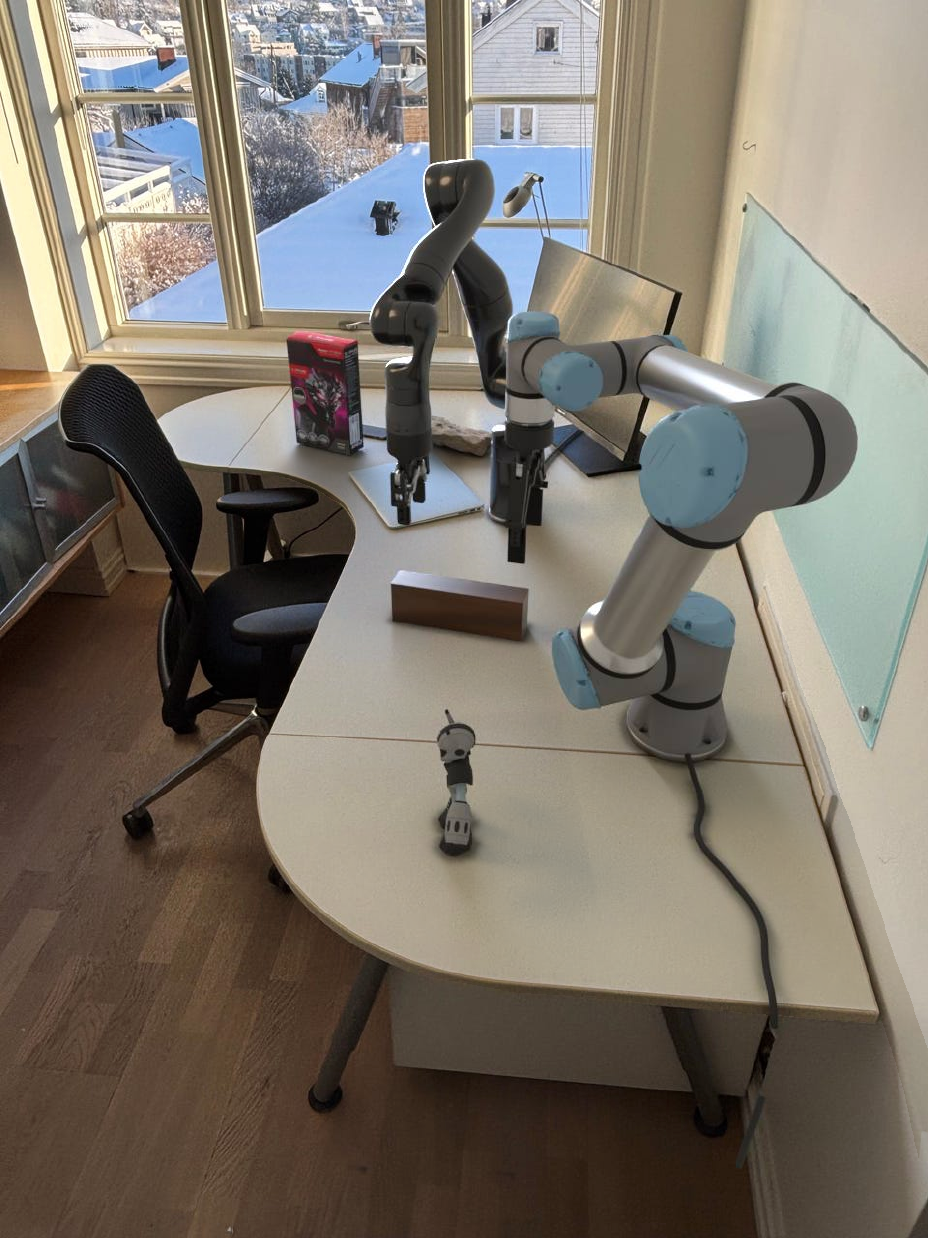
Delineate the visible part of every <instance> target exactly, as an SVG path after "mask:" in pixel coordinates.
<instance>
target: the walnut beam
mask: <svg viewBox="0 0 928 1238" xmlns="http://www.w3.org/2000/svg"><path fill="white" fill-rule="evenodd" d="M529 590H530V589H529V588H527V587H522V586H521V587H520V586H514V585H513V586H512V585H506V584H500V583H492V582H486V581H485V582H484V581H480V580H472V579H465V578H458V577H452V576H445V575H438V574H432V573H425V572H417V571H410V570H405V569H404V570H403V569H402V570H401V569H399V570H398V572H397V573H396V575H395V576H394V578H393V579H392V581H391V582H390V596H391V598H390V599H391V618H392V619H391V620H392V621H393V622H398V623H404V624H411V625H416V626H417V625H418V626H423V627H429V628H435V629H442V630H449V631H455V632H461V633H467V634H473V635H480V636H487V637H492V638H493V637H494V638H500V639H505V640H511V641H518V642H522V640H523V637H524V634H525V632H526V629H527V626H528V613H529V612H528V611H529V609H528V608H529V595H530V594H529V593H530V591H529Z"/></svg>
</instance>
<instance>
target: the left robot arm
mask: <svg viewBox="0 0 928 1238" xmlns="http://www.w3.org/2000/svg"><path fill="white" fill-rule="evenodd" d="M495 188H496V186H495V178H494V175H493V171H492V169H491V167H490V165H489V164H488V163H487V162H486V161H485V160H483V159H478V158H467V159H457V160H448V161H441V162H436V163H432V164H430V165H428V167H427V168H426V169H425V172H424V174H423V193H424V199H425V203H426V207H427V210H428V212H429V215H430V218H431V220H432V223H433V225H434V228H433V229H431V230H430V231H429V232H428V233H427V234H425V235H424V236H423V237H422V238H421V239H420V240H419V241H418V243H417V244H416V245H415V246H414V247H413V249H412V250H411V252H410V254H409V256H408V258H407V260H406V263H405V265H404V268H403V269H402V272H401V274H400V275H399V276H398V278H396V279H395V280H394V281H393V283H392V284H390V286H388V288H386V289H385V291H384V292H383V293H382V294H381V295H380V296H379V298H378V299H377V300H376V302H375V303H374V305H373V307H372V309H371V312H370V316H369V330H370V333H371V335H372V337H373V338H374V340H375V341H376V342H378V343H379V344H381V345H384V346H390V347H400V348H407V349H409V348H410V349H412V355H411V356H407V357H399V358H395V359H392V360H390V361H389V362H388V363H387V364H386V365H385V368H384V385H385V387H384V389H385V409H384V411H385V412H384V417H385V420H384V421H385V435H386V436H385V438H386V451H387V453H388V454H389V455H390V456H392V457H394V458H395V459H396V460H397V462H396V463H395V470H394V471H391V472H390V474H389V480H390V482H389V483H390V485H389V486H390V507H395V508H396V519H397V520H396V521H397V524H398V525H401V526H407V527H408V526H410V525H411V523H412V512H411V511H412V507H411V503H412V501H413V503H417V504H424V503H425V502H426V500H427V497H426V496H427V495H426V483H427V480H428V476H427V475H430V473H431V468H430V467H431V466H430V454H431V452H432V450H433V440H432V417H431V416H432V405H431V400H430V399H431V398H430V369H431V364H432V358H433V353H434V349H435V346H436V342H437V338H438V336H439V335H438V334H439V331H440V326H441V325H440V323H441V322H440V316H439V313H438V310H437V308H436V307H435V305H437V303H438V302H439V301H440V299H441V297H442V296H443V292H444V290H445V288H446V285H447V283H448V281H449V278H450V276H451V273H452V276H453V278H454V282H455V285H456V289H457V293H458V296H459V300H460V303H461V307H462V310H463V312H464V316H465V319H466V321H467V324H468V328H469V331H470V335H471V339H472V341H473V345H474V350H475V354H476V358H477V362H478V368H479V373H480V379H481V383H482V389H483V393H484V395H485V398H486V400H487V401H488V402H489V403H490V404H491V405H492V406H494V407H496V408H499V409H502V410H505V393H506V350H507V347H506V343H505V337H506V335H507V331H508V321H509V319H510V318H511V317H512V316H513V315H514V303H513V299H512V294H511V291H510V287H509V283H508V279H507V277H506V275H505V272H504V271H503V269H502V268H501V267H500V266H499V264H498V263H497V262H496V261H495V260H494V259H493V258H492V257H491V256H490V255H489V254H488V253H487V252H486V251H485V250H484V249H483V248H482V247H481V246H480V245H479V244H478V243H477V242H476V241H475V240H474V239H473V237H474V236H475V235H476V233H477V232H478V230H479V228H480V227H481V226H482V224H483V223H484V221H485V220H486V218H487V217H488V215H489V213H490V212H491V210H492V207H493V204H494V201H495V200H494V199H495V192H496V191H495V190H496V189H495ZM580 431H581V430H579V429H578V428H576V430H574V431H573V432H572V433H571V434H569V435H568V436H567V437H566V438H565V439H563V441H561V442H560V443H559V444H558V445H557V447H555V448H554V449H553V451H551V453H550V454H548V456H546V457H545V466H547V464H548V463H549V461H550V460H551V458H553V456H554V455H556V453H557V452H558V451H559V450H560V449H561V448H562V447H563V446H564V445H565V444H567V442H569V441H570V440H571V439H572V438H573V437H574V436H576V434H577V433H579V432H580ZM491 434H492V436H491V444H490V476H489V478H490V481H489V483H490V484H489V509H488V515H489V517H490V518H491V519H492V520H493V521H495V522H497V523H500V524H503V521H506V516H507V507H508V499H509V491H510V482H511V465H512V463H513V460H514V456H517V450H516V449H515V448H513V447H510V446H509V445H507V444H506V442H505V421H502V422H499V423H497V424H496V425H494V426H493V427H492V429H491Z"/></svg>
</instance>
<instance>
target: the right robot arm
mask: <svg viewBox="0 0 928 1238" xmlns="http://www.w3.org/2000/svg"><path fill="white" fill-rule="evenodd" d="M560 336H561V331H560V320H559V317H557V316H556V315H555V314H553V313H551V312H548V311H547V312H546V311H539V310H538V311H537V310H529V311H521V312H518V313H515V314H513V315H512V317H511V318H510V319H509V321H508V330H507V332H506V339H505V344H506V393H505V409H504V416H505V418H506V419H505V421H504V422H505V442H506V444H507V445H509V446H510V447H513V448H515V449H516V450H517V456H514V460H513V463H512V465H511V482H510V491H509V499H508V507H507V516H506V521H503V523H502V526H503V527H505V528H506V529H507V563H513V564H519V565H521V564H522V565H524V564H525V563H526V551H527V550H526V549H527V547H526V545H527V526H533V527H542V524H543V523H542V522H543V504H544V503H543V502H544V489H548V487H549V481H546V479H547V470H546V469H547V468H546V465H545V460H546V455H545V453H546V452H545V449H547V448H549V447H550V446H552V444H553V443H554V436H555V421H554V417H555V410H556V408H555V407H556V406H558V407H559V408H561V409H563V410H565V411H567V412H580V411H583V410H585V409H586V408H588V407H590V406H591V405H593V404H594V403H595V402H596V401H597V400H598V399H602V398H608V397H609V398H610V396H614V397H616V396H625V395H632V394H638V395H641V396H643V397H645V398H648V399H650V400H652V401H654V402H656V403H658V404H659V405H663V406H665V407H666V408H669V409H670V410H672V411H675V412H672V413H669V414H667V415H666V416H663V417H662V418H661V419H660V420H658V422H656V424H655V425H654V426H653V427H652V428H651V430H650V431H649V432H648V433H647V436H646V438H645V440H644V442H643V445H642V447H641V451H640V454H639V459H638V460H639V461H638V464H640V465H641V470H640V471H638V472H637V474H638V486H639V492H640V495H641V499H642V501H643V504H644V506H645V508H646V509H647V512H648V515H647V518H646V519H645V522H644V523H643V525H642V527H641V529H640V531H639V532H638V535H637V537H636V538H635V541H634V543H633V544H632V546H631V548H630V550H629V553H628V554H627V555H626V558H625V559H624V561H623V564H622V566H621V567H620V569H619V571H618V573H617V575H616V576H615V579H614V580H613V582H612V585H611V586H610V588H609V590H608V591H607V592H608V593H607V594H606V596H605V598H604V599H603V600H601V601H599V602H596V603H594V604H592V606H590V607H589V608H588V609H587V610H586V612H585V613H584V614H583V615H582V617H581V620H580V622H579V624H578V625H577V626H575V627H571V628H568V627H564V629H562V630H559V631H557V632H555V633H554V635H553V637H552V641H551V654H552V661H553V667H554V670H555V674H556V678H557V680H558V683H559V685H560V688H561V690H562V692H563V694H564V696H565V698H566V699H567V701H568V702H569V703H570V704H571V705H572V706H573V707H574V708H575V709H577V710H580V711H586V710H593V709H594V710H595V709H598V710H599V709H601V708H602V707H606V706H610V705H614V704H618V703H622V702H627V701H630V700H632V701H631V702H630V704H629V706H628V708H627V713H626V719H625V728H626V732H627V734H628V736H629V738H630V739H631V741H632V742H634V744H636V745H637V746H638V747H639V748H640V749H641V750H643V751H645V752H646V753H648V754H650V755H651V756H654V757H656V758H659V759H662V760H666V761H670V762H675V763H686V765H687V768H688V771H689V775H690V778H691V782H692V785H693V787H694V790H695V794H696V797H697V812H696V816H695V819H694V823H693V835H694V839H695V841H696V844H697V846H698V847H699V849H700V851H701V852H702V853H703V855H704V856H705V857H706V858H707V859H708V860H709V861H710V862H711V864H713V865H714V866H715V867H716V868H717V870H719V871H720V872H721V873H722V874H723V876H724V877H725V878H726V879H727V881H728V882H729V884H731V886H732V887H733V888H734V890H735V891H736V892H737V893H738V894H739V895H740V897H741V898H742V899H743V901H744V902H745V904H746V905H747V906H748V908H749V910H750V911H751V912H752V914H753V917H754V919H755V921H756V924H757V926H758V930H759V931H758V932H759V938H760V959H761V960H760V961H761V967H762V973H763V978H764V984H765V987H766V992H767V999H768V1008H769V1026H770V1028H771V1029H773V1030H777V1029H779V1011H778V1010H779V1008H778V1000H777V995H776V989H775V984H774V981H773V976H772V971H771V965H770V952H769V951H770V950H769V936H768V930H767V929H768V928H767V925H766V923H765V919H764V917H763V914H762V912H761V910H760V909H759V907H758V905H757V904H756V902H755V900H754V899H753V897H752V896H751V895H750V894H749V893H748V891H747V890H746V889H745V888H744V887H743V886H742V884H741V883H740V882H739V880H737V878H736V877H735V876H734V874H733V873H732V872H731V871H730V869H728V867H727V866H726V865H725V864H724V863H723V862H722V861H721V860H720V859H719V858H718V857H717V856H716V855H715V854H714V853H713V852H712V851H711V850H710V849H709V847H708V845H706V843H705V841H704V840H703V837H702V833H701V826H702V822H703V819H704V814H705V811H706V810H705V809H706V808H705V807H706V803H705V797H704V793H703V789H702V787H701V784H700V781H699V778H698V774H697V772H696V768H695V764H694V762H700V761H703V760H706V759H709V758H711V757H714V755H716V754H718V752H720V751H721V750H722V748H723V747H724V744H725V743H726V740H727V739H726V738H727V733H728V721H727V716H726V712H725V708H724V707H725V706H724V701H723V692H724V686H725V682H726V678H727V672H728V668H729V664H730V659H731V654H732V651H733V647H734V645H735V642H736V640H735V632H736V627H737V626H736V617H735V616H734V614H733V612H732V611H731V609H730V608H729V607H728V606H727V605H726V604H724V603H723V602H722V601H720V600H719V599H717V598H715V597H713V596H710V595H709V594H706V593H703V592H699V591H695V590H692V589H693V587H694V586H695V584H696V583H697V581H698V580H699V578H700V577H701V574H702V573H703V572H704V570H705V569H706V568H707V566H708V564H709V563H710V561H711V559H712V558H713V557H714V555H715V553H716V552H717V551H722V550H727V549H729V548H731V547H732V546H734V545H735V544H737V543H738V542H739V541H741V539H742V538H743V536H744V535H745V533H746V532H747V530H748V529H749V528H750V527H751V525H752V524H753V522H754V520H755V519H756V518H757V517H758V516H759V515H761V514H763V513H766V512H771V511H775V510H776V511H777V510H782V509H786V508H792V507H798V506H802V505H807V504H810V503H813V502H816V501H818V500H820V499H822V498H824V497H826V496H827V495H829V494H830V493H831V492H833V491H834V490H835V489H836V488H838V487H839V486H840V485H841V483H842V482H843V481H844V480H845V479H846V478H847V476H848V475H849V474H850V471H851V469H852V467H853V465H854V463H855V460H856V455H857V451H858V444H859V443H858V442H859V441H858V438H859V437H858V432H857V426H856V424H855V421H854V418H853V416H852V414H851V413H850V412H849V409H848V408H847V407H846V406H845V405H844V404H843V403H842V402H841V401H840V400H838V399H837V398H835V397H834V396H833V395H831V394H830V393H827V392H824V391H822V390H820V389H818V388H814V387H812V386H809V385H806V384H804V383H800V382H795V381H791V382H789V381H788V382H784V383H781V384H776V383H773V382H770V381H767V380H764V379H762V378H759V377H757V376H753V375H751V374H748V373H745V372H743V371H740V370H737V369H734V368H731V367H729V366H726V365H724V364H721V363H718V362H716V361H713V360H710V359H707V358H705V357H703V356H700V355H696V354H694V353H691V352H689V351H688V348H687V346H686V344H684V343H683V340H682V338H680V337H678V336H677V335H674V334H663V335H662V334H651V335H647V336H641V337H640V336H639V337H634V338H632V337H631V338H625V339H615V340H609V341H598V342H589V343H588V342H587V343H581V344H579V343H578V344H568V343H566V342H564V341H562V339H560ZM766 1099H767V1097H766V1096H763V1095H761V1094H757V1096H756V1101H755V1105H754V1108H753V1111H752V1114H751V1116H750V1120H749V1123H748V1125H747V1128H746V1131H745V1134H744V1136H743V1138H742V1142H741V1145H740V1148H739V1151H738V1155H737V1157H736V1160H735V1167H736V1168H737V1169H742V1168H743V1167H744V1163H745V1160H746V1157H747V1155H748V1151H749V1148H750V1145H751V1143H752V1141H753V1138H754V1135H755V1132H756V1130H757V1126H758V1124H759V1121H760V1118H761V1115H762V1112H763V1108H764V1107H765V1103H766Z"/></svg>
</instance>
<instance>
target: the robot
mask: <svg viewBox="0 0 928 1238" xmlns="http://www.w3.org/2000/svg"><path fill="white" fill-rule="evenodd" d="M444 713H445V717H446V719H447V723H448V724H445V726H444V727H443V728H441V729H440V730H439V731H438V733H437V736H436V743H437V747H438V748H439V760H440V761H441V762H442V763H443V764H442V765H443V767H444V770H445V771H446V777H445V778H446V788H447V789H448V792H449V793H450V797H449V799H448V801H447V804H446V806H445V808H444V810H443V812H441V813H440V814H439V816H438V818H437V821H438V823H439V825H440V827H441V828H442V829H443V830H444V833H443V835H442V837H441V839H440V843H439V845H438V848H439V849H440V850H441V851H442V852H443V853H444V855H449V856H451V857H452V856H453V857H454V856H460V855H462V854H465V853H467V852H469V851H471V848H472V845H473V834H472V830H471V827H472V817H473V816H472V810H471V806H470V804H469V803H468V801H467V797H466V796H467V793H468V787H467V785H469V786H473V785H474V776H473V768H472V765H471V763H470V756H471V755H472V751H471V749H472V748H474V747H475V745H476V741H477V738H476V733H475V730H474V729H473V728H472V727H471V726H470V725H468V724H466V723H464V722H461V721H455V720H454V719H453V716H452V714H451V713H450V711H449V709H448V708H446V709H445V710H444Z"/></svg>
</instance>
